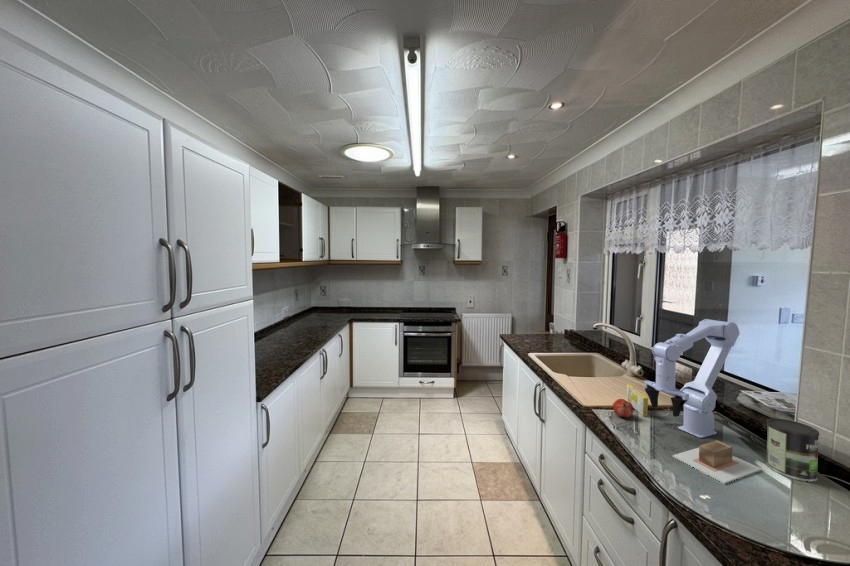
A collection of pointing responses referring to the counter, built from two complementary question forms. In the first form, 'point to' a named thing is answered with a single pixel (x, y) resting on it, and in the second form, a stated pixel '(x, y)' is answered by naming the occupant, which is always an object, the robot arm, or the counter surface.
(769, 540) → the counter surface
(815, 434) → the coffee can
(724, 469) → the mat
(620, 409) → the pomegranate
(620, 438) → the counter surface
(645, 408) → the candy box
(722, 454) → the walnut block
